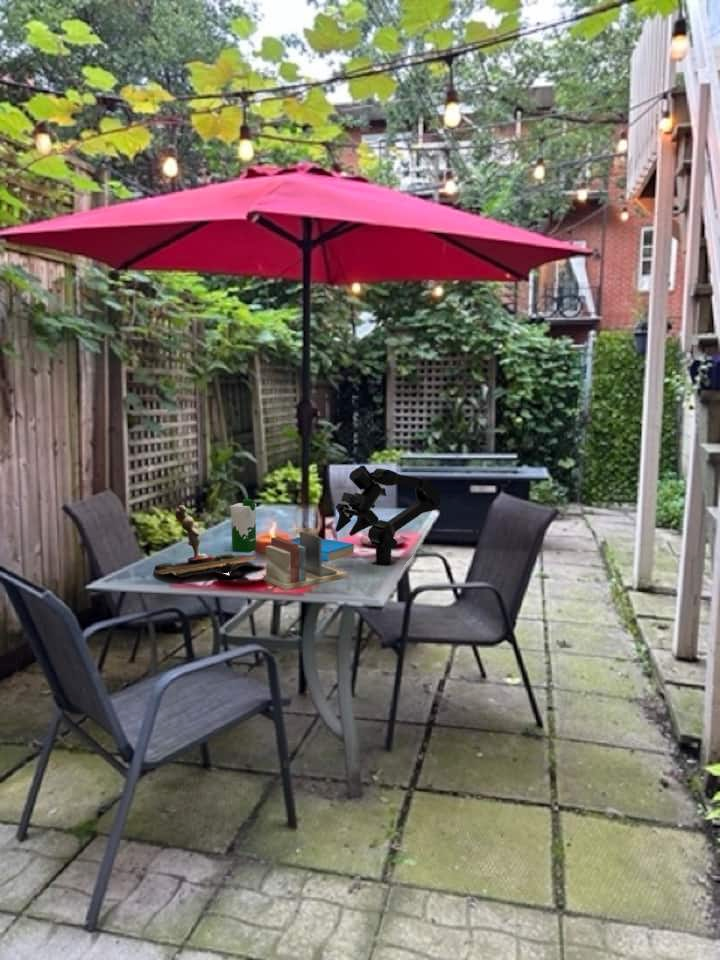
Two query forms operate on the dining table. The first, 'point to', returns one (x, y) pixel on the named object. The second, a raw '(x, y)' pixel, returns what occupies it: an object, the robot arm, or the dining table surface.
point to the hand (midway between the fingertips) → (343, 533)
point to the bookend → (314, 555)
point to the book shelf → (292, 566)
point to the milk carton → (243, 526)
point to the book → (332, 548)
